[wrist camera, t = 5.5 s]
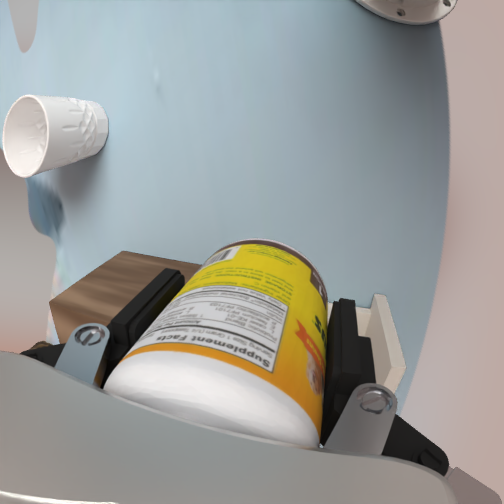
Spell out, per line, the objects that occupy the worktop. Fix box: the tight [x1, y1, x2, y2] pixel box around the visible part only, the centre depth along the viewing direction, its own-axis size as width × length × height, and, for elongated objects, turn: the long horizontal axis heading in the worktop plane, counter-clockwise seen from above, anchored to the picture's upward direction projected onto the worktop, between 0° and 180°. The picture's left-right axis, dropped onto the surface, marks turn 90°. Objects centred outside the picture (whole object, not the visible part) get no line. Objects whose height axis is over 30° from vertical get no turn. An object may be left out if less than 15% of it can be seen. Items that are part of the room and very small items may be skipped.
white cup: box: [3, 95, 108, 178], centre depth 27 cm, size 8×8×10 cm
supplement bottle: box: [103, 238, 328, 447], centre depth 9 cm, size 6×6×10 cm
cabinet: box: [49, 251, 202, 344], centre depth 31 cm, size 14×14×13 cm
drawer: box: [327, 294, 406, 394], centre depth 29 cm, size 14×14×11 cm
